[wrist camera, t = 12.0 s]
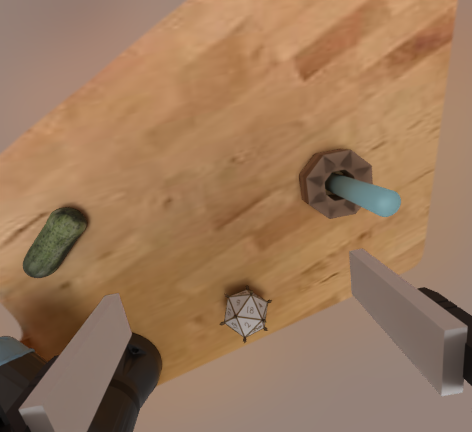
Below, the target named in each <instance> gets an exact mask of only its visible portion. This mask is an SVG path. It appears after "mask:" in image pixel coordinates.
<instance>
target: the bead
mask: <svg viewBox="0 0 472 432" xmlns="http://www.w3.org/2000/svg"><path fill="white" fill-rule="evenodd" d="M334 171H341V172H342V173H343V176H346V177H349V178H352V179H356V180H359V181H362V182H366V183H369V184H372V166H371V165H370V164H369V163H367V162H366V161H365V160H364V159H362V158H361V157H360V156H358V155H357V154H356V153H355V152H353V151H352V150H347V149H337V150H332V151H327V152H322V153H317V154H314V155H313V157H312V158H311V160H310V161H309V162H308V164H307V165H306V166H305V168H304V169H303V170H302V172H301V173H300V175H299V179H300V187H301V195H302V200H304V201H305V202H306V203H308V204H309V205H310V206H312V207H313V208H315V209H316V210H318V211H319V212H320V213H322V214H323V215H325V216H326V217H328V218H329V219H332V218H337V217H342V216H347V215H352V214H356V213H357V211H358V210H359V209H360V208H361V206H359V205H357V204H355V203H353V202H351V201H349V200H346V199H344V198H342V197H340V196H338V195H336V194H333V195H328V196H327V195H326V192H325V181H326V180H327V178H328V177H329V176H330V174H331V173H332V172H334ZM372 185H373V184H372Z"/></svg>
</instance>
